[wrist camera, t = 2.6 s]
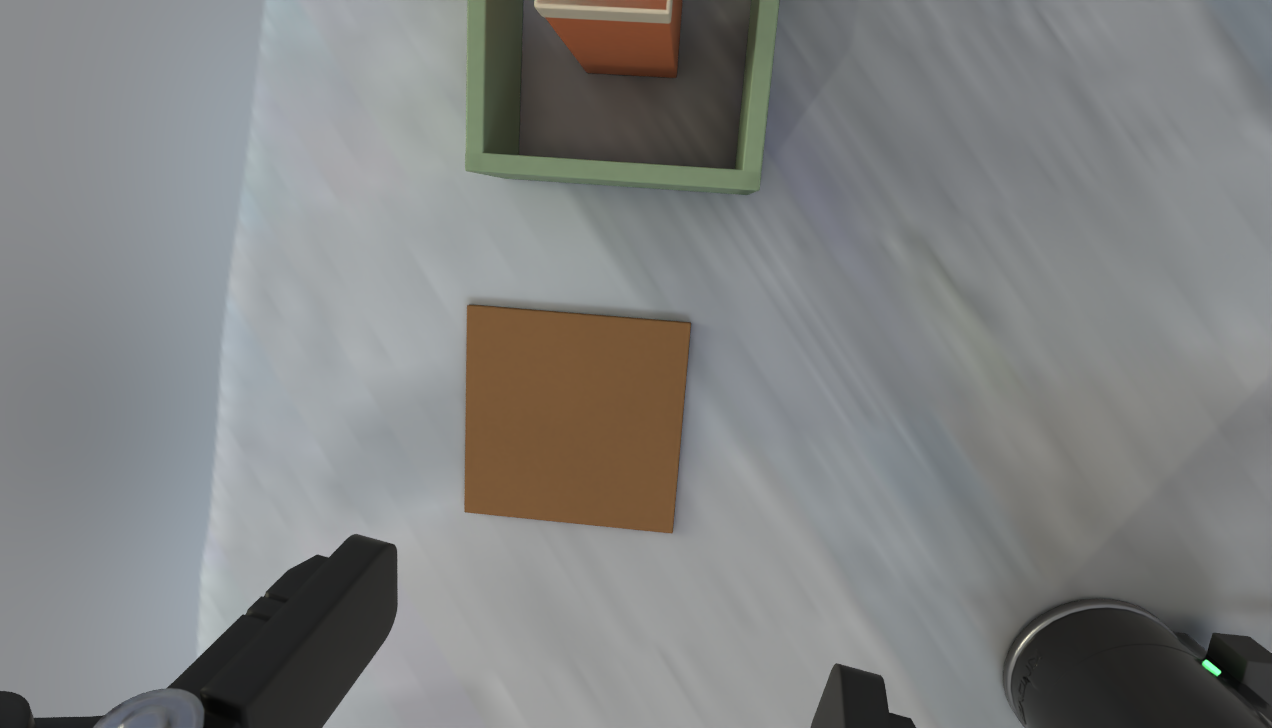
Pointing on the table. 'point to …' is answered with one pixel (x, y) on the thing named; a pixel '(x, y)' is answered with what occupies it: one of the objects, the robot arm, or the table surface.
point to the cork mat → (574, 416)
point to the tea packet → (619, 34)
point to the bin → (498, 155)
